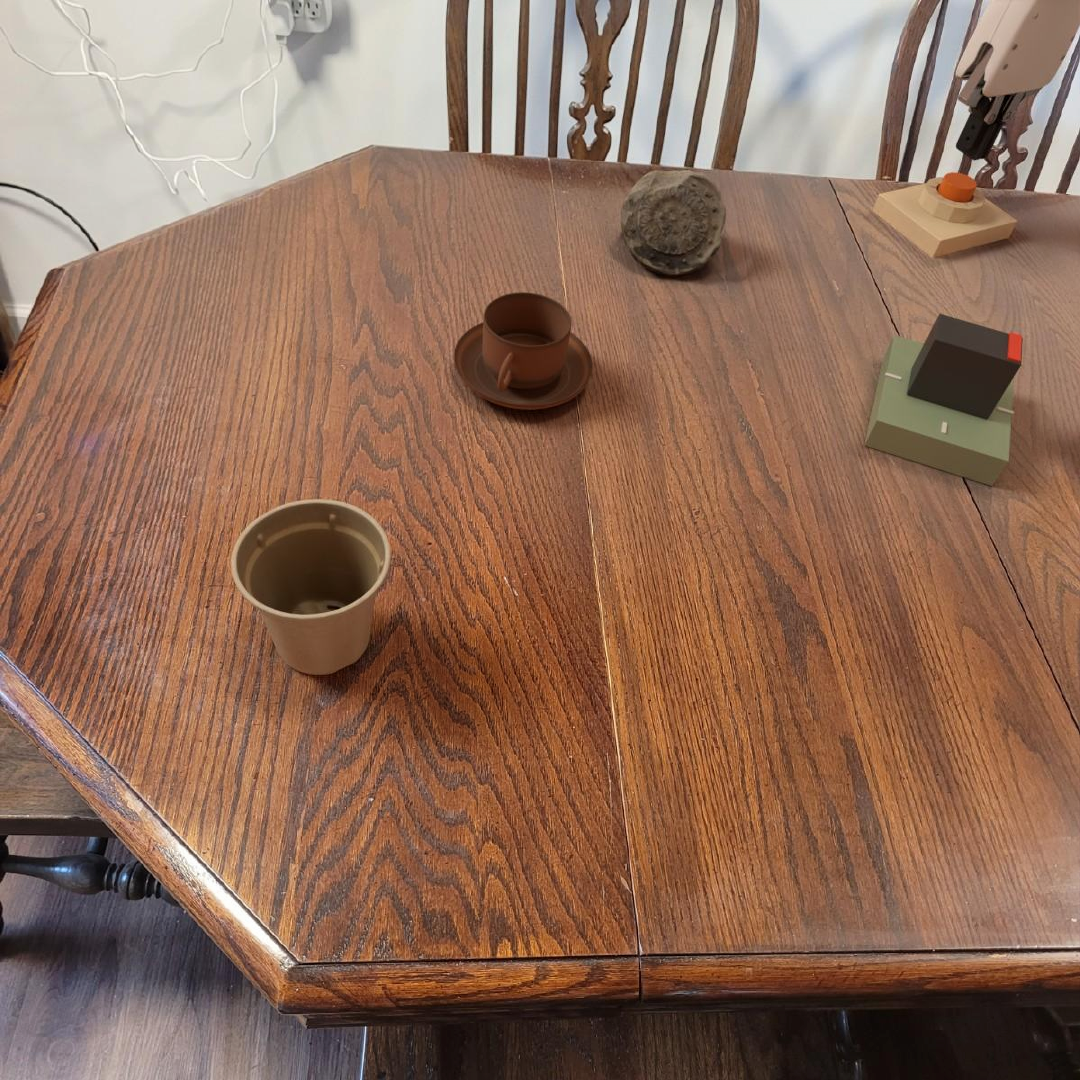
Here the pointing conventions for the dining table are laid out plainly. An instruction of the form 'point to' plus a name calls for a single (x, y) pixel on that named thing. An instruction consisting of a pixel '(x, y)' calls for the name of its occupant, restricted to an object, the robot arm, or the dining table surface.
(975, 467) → the stand
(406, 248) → the dining table surface
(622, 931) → the dining table surface
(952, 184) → the button
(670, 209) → the fossil
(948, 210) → the box
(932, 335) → the black block
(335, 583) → the flower pot
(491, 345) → the cup and saucer
